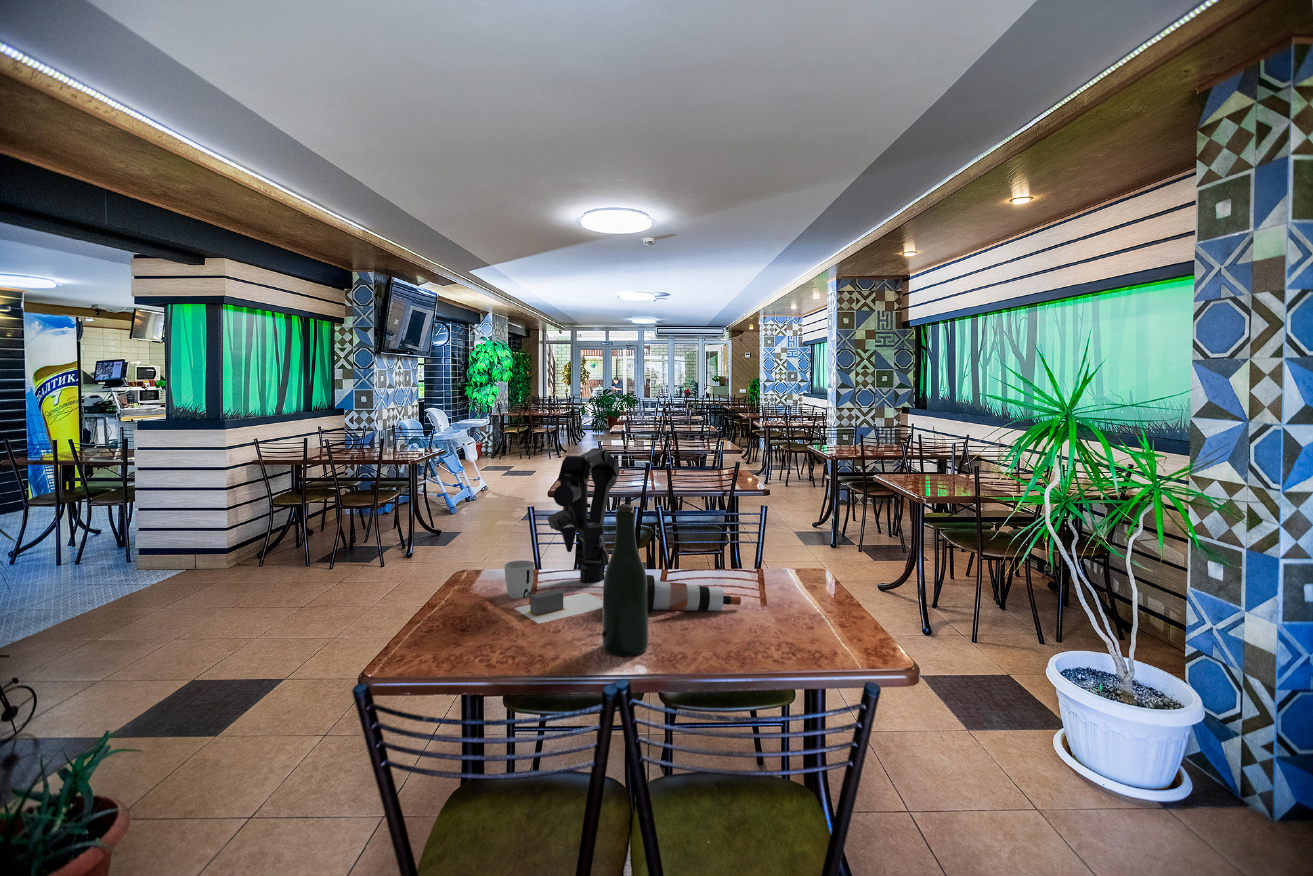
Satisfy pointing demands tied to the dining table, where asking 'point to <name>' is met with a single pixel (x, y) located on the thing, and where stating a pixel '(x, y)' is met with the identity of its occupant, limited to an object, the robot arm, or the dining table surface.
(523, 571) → the cup
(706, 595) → the striped bottle lying down
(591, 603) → the board
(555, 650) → the dining table surface
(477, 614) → the dining table surface
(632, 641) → the beer bottle
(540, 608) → the block
